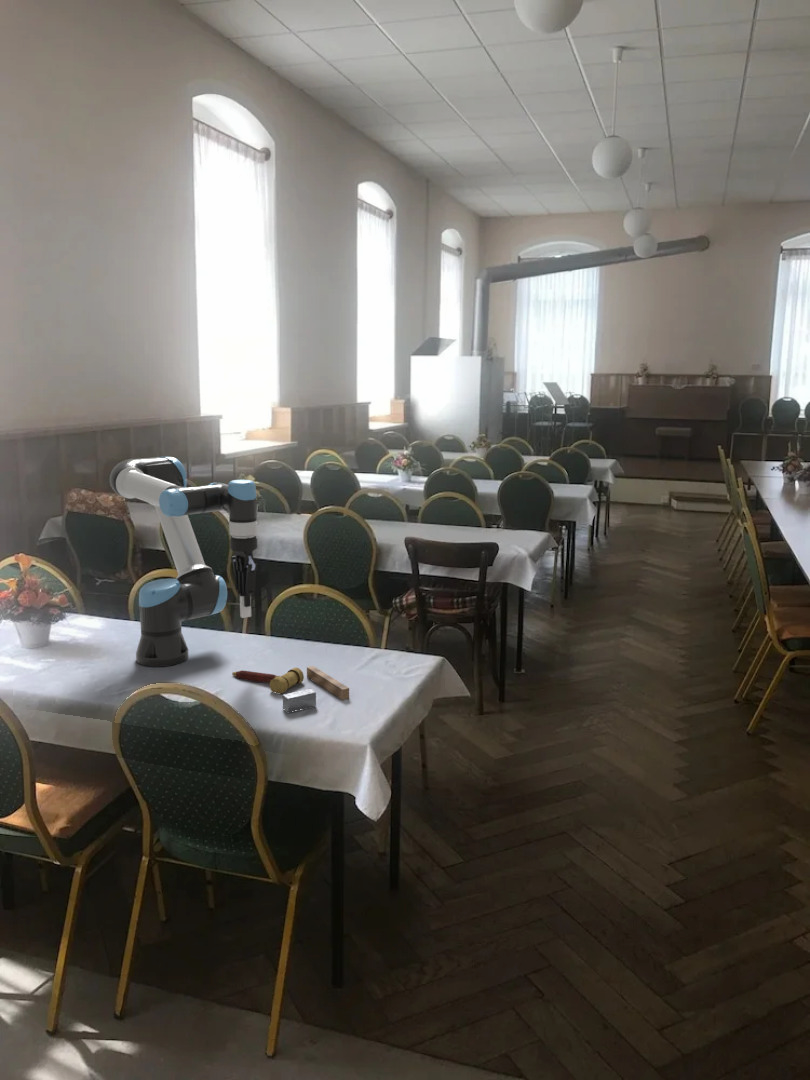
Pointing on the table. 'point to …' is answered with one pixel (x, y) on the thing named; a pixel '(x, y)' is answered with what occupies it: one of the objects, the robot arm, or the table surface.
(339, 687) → the walnut fence
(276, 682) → the gavel
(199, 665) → the table surface
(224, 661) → the table surface
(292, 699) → the block
